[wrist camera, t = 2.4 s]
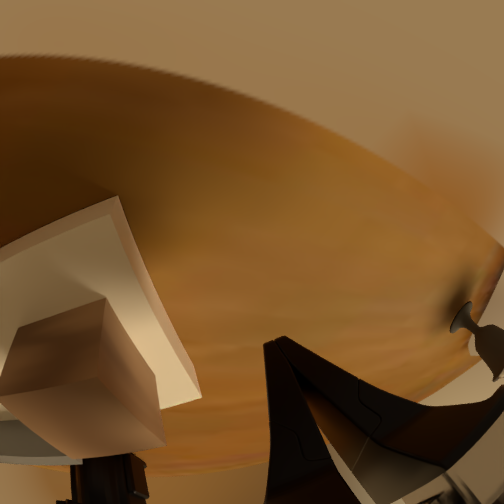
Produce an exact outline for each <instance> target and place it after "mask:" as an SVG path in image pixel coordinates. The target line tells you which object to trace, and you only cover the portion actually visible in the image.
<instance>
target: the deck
mask: <svg viewBox="0 0 504 504" xmlns="http://www.w3.org/2000/svg"><path fill="white" fill-rule="evenodd" d="M103 298H107V299H108V301H109V303H110V305H111V307H112V308H113V310H114V312H115V314H116V315H117V317H118V319H119V320H120V322H121V324H122V325H123V327H124V329H125V330H126V332H127V334H128V335H129V337H130V338H131V340H132V341H133V343H134V345H135V346H136V348H137V349H138V351H139V352H140V354H141V355H142V357H143V358H144V360H145V361H146V363H147V364H148V366H149V367H150V368H151V370H152V371H153V373H154V374H155V377H156V384H157V392H158V398H159V405H160V409H164V408H168V407H171V406H175V405H178V404H182V403H185V402H189V401H192V400H195V399H199V398H202V395H201V391H200V388H199V384H198V380H197V377H196V373H195V369H194V366H193V364H192V362H191V360H190V358H189V356H188V355H187V353H186V351H185V349H184V347H183V345H182V343H181V341H180V339H179V337H178V335H177V333H176V332H175V330H174V328H173V326H172V324H171V322H170V319H169V317H168V315H167V313H166V311H165V309H164V307H163V305H162V303H161V301H160V299H159V296H158V294H157V292H156V290H155V288H154V285H153V283H152V281H151V279H150V276H149V274H148V272H147V269H146V267H145V265H144V262H143V260H142V258H141V255H140V253H139V250H138V248H137V245H136V243H135V240H134V238H133V235H132V233H131V230H130V227H129V225H128V222H127V219H126V217H125V214H124V211H123V208H122V205H121V203H120V200H119V197H118V195H117V196H115V197H112V198H109V199H107V200H104V201H102V202H99V203H97V204H94V205H92V206H89V207H87V208H84V209H82V210H79V211H77V212H75V213H72V214H70V215H68V216H66V217H63V218H61V219H59V220H57V221H54V222H52V223H50V224H48V225H46V226H43V227H41V228H39V229H37V230H35V231H33V232H31V233H29V234H27V235H25V236H23V237H21V238H19V239H17V240H15V241H13V242H11V243H9V244H7V245H5V246H4V247H2V248H0V376H1V373H2V370H3V367H4V364H5V361H6V358H7V355H8V352H9V350H10V347H11V344H12V342H13V339H14V337H15V334H16V332H17V330H18V328H19V327H22V326H25V325H27V324H30V323H33V322H36V321H39V320H42V319H45V318H48V317H51V316H53V315H56V314H59V313H62V312H65V311H68V310H71V309H74V308H77V307H80V306H82V305H85V304H88V303H91V302H94V301H97V300H100V299H103ZM6 420H19V419H17V418H16V417H15V416H14V415H13V414H12V413H11V412H9V411H8V410H7V409H6V408H5V407H4V406H3V405H2V404H1V403H0V421H6Z"/></svg>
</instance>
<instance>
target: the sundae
mask: <svg viewBox="0 0 504 504" xmlns="http://www.w3.org/2000/svg"><path fill="white" fill-rule="evenodd" d="M471 309H472V302H468V303H467V304H465V305H464V306H463V308H462V309H461V310H460V311H459V313H458V314H457V316H456V317H455V319H454V321H453V323H452V325H451V328H450V332H451V333H454V332H456V331H457V330H458V329H459V328H466V329H468V330H470V331H471V332H472V333H473V334H474V335H475V347H476V351H477V352H478V354H479V355H480V357H481V358H482V359H483V360H484V362H485V363H486V364H487V365H488V367H489V368H490V370H491V371H492V373H493V376H494V377H493V382H495V381H497V380H498V379H499V378H501V377H504V330H503V329H501V328H499V327H497V326H495V325H487V326H484V327H479V326H478V325H477V324H475V323H474V322H473V320H472V319H471V316H470V312H471Z"/></svg>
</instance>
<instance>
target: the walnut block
mask: <svg viewBox="0 0 504 504" xmlns="http://www.w3.org/2000/svg"><path fill="white" fill-rule="evenodd" d="M0 403H1V404H2V405H3V406H4V407H5V408H6V409H7V410H8V411H9V412H11V413H12V414H13V415H14V416H15V417H16V418H17V419H19V420H20V421H21V422H22V423H23V424H24V425H26V426H27V427H28V428H29V429H31V430H32V431H33V432H34V433H36V434H37V435H38V436H40V437H41V438H42V439H44V440H45V441H46V442H48V443H49V444H51V445H52V446H53V447H55V448H56V449H58V450H59V451H61V452H62V453H64V454H65V455H67V456H68V457H70V458H71V459H82V458H94V457H103V456H111V455H118V454H125V453H131V452H137V451H143V450H148V449H153V448H158V447H162V446H167V444H166V439H165V434H164V429H163V423H162V417H161V411H160V405H159V398H158V392H157V384H156V377H155V374H154V373H153V371H152V370H151V368H150V367H149V366H148V364H147V363H146V361H145V360H144V358H143V357H142V355H141V354H140V352H139V351H138V349H137V348H136V346H135V345H134V343H133V341H132V340H131V338H130V337H129V335H128V334H127V332H126V330H125V329H124V327H123V325H122V324H121V322H120V320H119V319H118V317H117V315H116V314H115V312H114V310H113V308H112V307H111V305H110V303H109V301H108V299H107V298H103V299H100V300H97V301H94V302H91V303H88V304H85V305H82V306H80V307H77V308H74V309H71V310H68V311H65V312H62V313H59V314H56V315H53V316H51V317H48V318H45V319H42V320H39V321H36V322H33V323H30V324H27V325H25V326H22V327H19V328H18V330H17V332H16V334H15V337H14V339H13V342H12V344H11V347H10V350H9V352H8V355H7V358H6V361H5V364H4V367H3V370H2V373H1V376H0Z"/></svg>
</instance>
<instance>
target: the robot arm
mask: <svg viewBox="0 0 504 504" xmlns="http://www.w3.org/2000/svg"><path fill="white" fill-rule="evenodd" d="M263 350H264V362H265V375H266V387H267V400H268V413H269V428H270V457H269V468H268V479H267V487H266V495H265V501H264V504H361V503H360V501H359V500H358V499H357V497H356V496H355V495H354V493H353V492H352V491H351V489H350V488H349V486H348V485H347V483H346V482H345V480H344V479H343V477H342V476H341V475H340V473H339V472H338V470H337V468H336V466H335V464H334V462H333V460H332V459H331V456H330V453H329V451H328V449H327V446H326V444H325V442H324V440H323V437H322V435H321V433H320V431H319V428H320V429H321V431H322V432H323V433H324V435H325V436H326V438H327V439H328V440H329V442H330V443H331V445H332V446H333V447H334V449H335V450H336V451H337V453H338V454H339V455H340V457H341V458H342V459H343V461H344V462H345V464H346V465H347V466H348V468H349V469H350V470H351V471H352V473H353V474H354V476H355V477H356V478H357V480H358V481H359V482H360V484H361V485H362V486H363V488H364V489H365V490H366V492H367V493H368V494H369V495H370V497H371V498H372V499H373V501H374V502H375V503H376V504H390V503H393V502H394V501H396V500H398V499H400V498H402V499H403V501H404V502H405V504H504V385H501V386H500V387H499V388H498V389H497V390H496V392H495V393H494V394H493V395H492V396H491V397H490V398H488V399H487V400H484V401H481V402H476V403H468V404H460V405H450V406H426V405H422V404H419V403H416V402H413V401H410V400H407V399H404V398H402V397H399V396H396V395H393V394H391V393H388V392H386V391H383V390H381V389H379V388H377V387H375V386H373V385H371V384H369V383H367V382H365V381H363V380H361V379H359V380H358V378H357V377H356V376H354V375H352V374H350V373H348V372H347V371H345V370H343V369H341V368H339V367H338V366H336V365H334V364H332V363H331V362H329V361H327V360H325V359H324V358H322V357H320V356H319V355H317V354H315V353H313V352H312V351H310V350H308V349H307V348H305V347H303V346H302V345H300V344H298V343H296V342H295V341H293V340H291V339H290V338H288V337H286V336H281V337H279V338H276V339H275V340H271V341H269V342H266V343H264V344H263ZM316 423H317V424H316ZM317 425H318V426H319V428H318V426H317ZM82 463H83V464H77V465H70V475H71V493H72V500H69V499H66V500H65V501H58V500H57V501H56V504H146V500H145V499H148V498H149V492H148V487H147V482H146V477H145V471H144V468H146V467H147V466H146V463H145V462H143V461H142V460H140V459H139V458H137V457H136V456H134V455H133V454H131V453H125V454H118V455H111V456H103V457H94V458H82Z"/></svg>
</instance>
